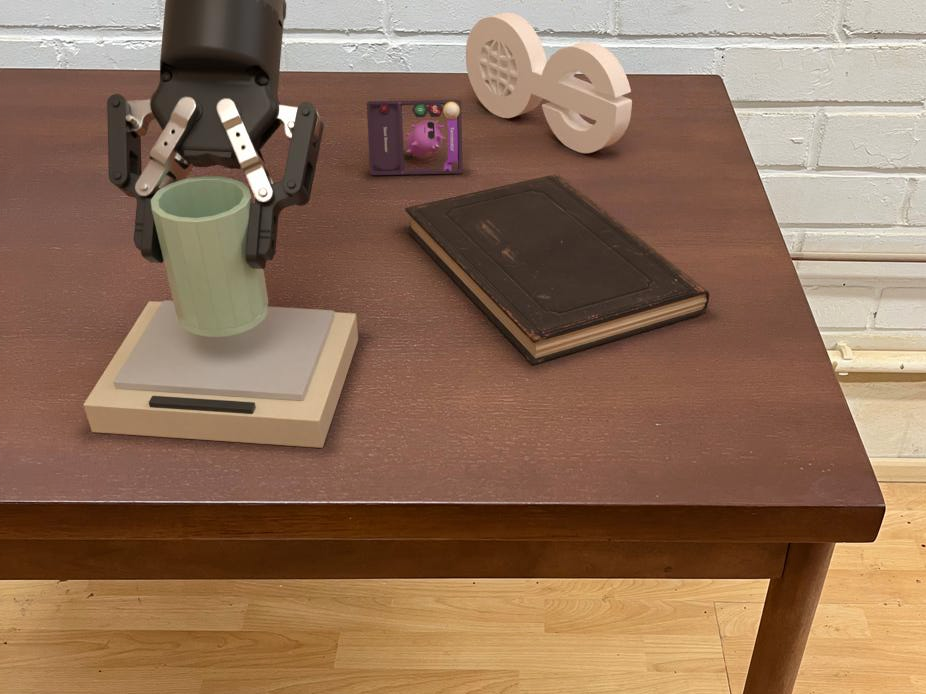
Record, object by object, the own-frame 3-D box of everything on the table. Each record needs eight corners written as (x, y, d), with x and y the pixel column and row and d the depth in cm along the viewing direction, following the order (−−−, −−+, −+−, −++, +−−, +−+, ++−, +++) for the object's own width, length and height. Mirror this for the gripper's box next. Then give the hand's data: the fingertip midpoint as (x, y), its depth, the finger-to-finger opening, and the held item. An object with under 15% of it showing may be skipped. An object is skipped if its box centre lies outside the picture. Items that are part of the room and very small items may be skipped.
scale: (91, 432, 68) (80, 397, 66) (155, 327, 78) (147, 293, 76) (322, 448, 67) (318, 413, 65) (358, 339, 77) (355, 306, 75)
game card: (366, 101, 95) (461, 100, 95) (368, 99, 99) (458, 98, 100) (370, 175, 97) (463, 173, 98) (371, 170, 102) (460, 168, 103)
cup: (165, 334, 67) (136, 218, 62) (193, 286, 72) (169, 173, 66) (255, 340, 67) (235, 223, 61) (278, 290, 71) (261, 178, 66)
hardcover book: (532, 365, 75) (533, 339, 73) (406, 231, 90) (405, 207, 88) (707, 313, 80) (711, 288, 79) (560, 195, 95) (562, 172, 94)
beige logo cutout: (465, 101, 112) (465, 6, 105) (480, 96, 113) (481, 2, 107) (610, 167, 100) (621, 63, 93) (625, 160, 101) (637, 58, 94)
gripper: (93, -25, 63) (68, 240, 62) (320, -17, 62) (299, 252, 61) (141, 35, 70) (120, 272, 69) (345, 43, 69) (326, 283, 68)
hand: (204, 262), depth 65 cm, fingers closed on cup, 6 cm apart
